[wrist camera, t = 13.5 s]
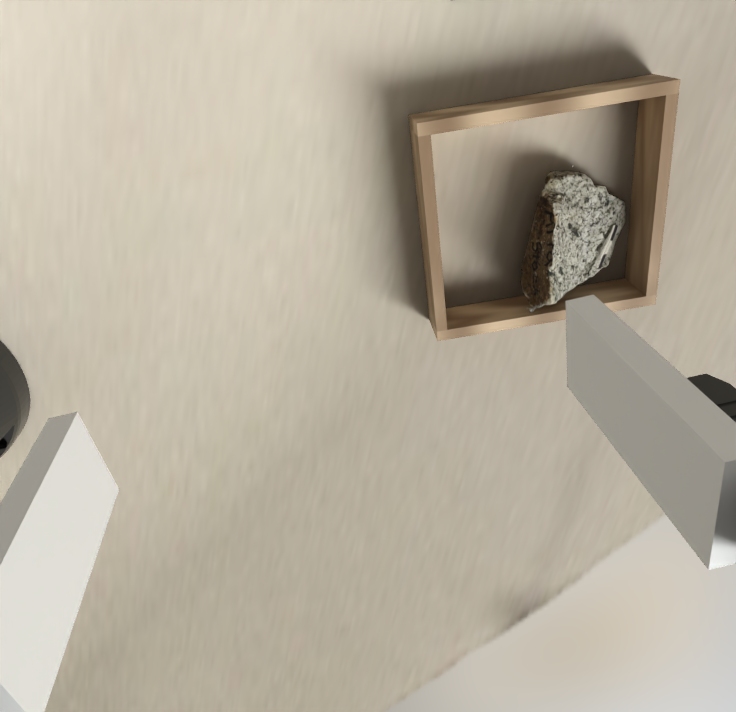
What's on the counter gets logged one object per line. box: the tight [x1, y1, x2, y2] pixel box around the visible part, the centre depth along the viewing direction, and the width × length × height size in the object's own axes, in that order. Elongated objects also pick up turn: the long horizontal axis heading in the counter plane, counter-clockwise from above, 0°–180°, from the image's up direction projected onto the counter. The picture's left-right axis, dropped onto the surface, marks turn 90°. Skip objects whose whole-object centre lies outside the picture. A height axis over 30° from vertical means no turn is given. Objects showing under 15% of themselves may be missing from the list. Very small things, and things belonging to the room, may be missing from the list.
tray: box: [409, 74, 680, 341], centre depth 43 cm, size 17×16×4 cm
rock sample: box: [521, 166, 626, 313], centre depth 44 cm, size 10×8×9 cm
